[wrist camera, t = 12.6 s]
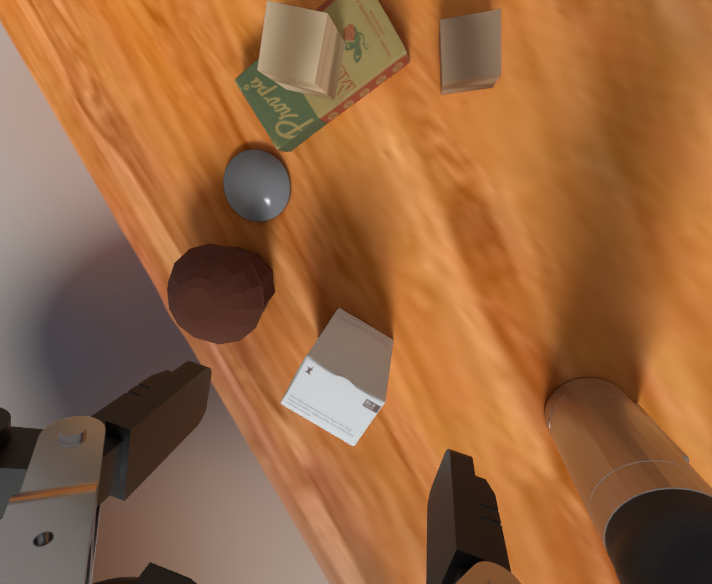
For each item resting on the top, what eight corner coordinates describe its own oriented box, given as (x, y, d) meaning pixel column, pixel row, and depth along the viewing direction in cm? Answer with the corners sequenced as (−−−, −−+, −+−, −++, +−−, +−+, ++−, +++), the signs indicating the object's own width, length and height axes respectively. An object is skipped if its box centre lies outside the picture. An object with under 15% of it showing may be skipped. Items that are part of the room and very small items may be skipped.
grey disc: (297, 159, 44) (295, 159, 44) (284, 228, 47) (281, 229, 46) (232, 142, 45) (229, 141, 44) (222, 210, 48) (219, 211, 47)
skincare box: (317, 341, 50) (272, 403, 36) (340, 303, 48) (302, 353, 34) (374, 376, 50) (351, 452, 36) (399, 339, 48) (385, 404, 34)
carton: (411, 64, 40) (409, 51, 36) (289, 155, 45) (275, 152, 41) (368, -12, 39) (361, -35, 35) (248, 88, 44) (229, 79, 40)
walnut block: (492, 30, 38) (500, 8, 33) (492, 87, 39) (501, 74, 34) (439, 39, 39) (440, 19, 34) (441, 94, 40) (442, 82, 35)
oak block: (345, 43, 37) (327, 13, 30) (334, 100, 39) (314, 83, 32) (295, 32, 38) (267, 0, 31) (286, 89, 39) (257, 70, 32)
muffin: (239, 340, 52) (196, 375, 42) (183, 274, 51) (127, 295, 41) (304, 288, 48) (273, 314, 39) (246, 217, 47) (199, 225, 38)
